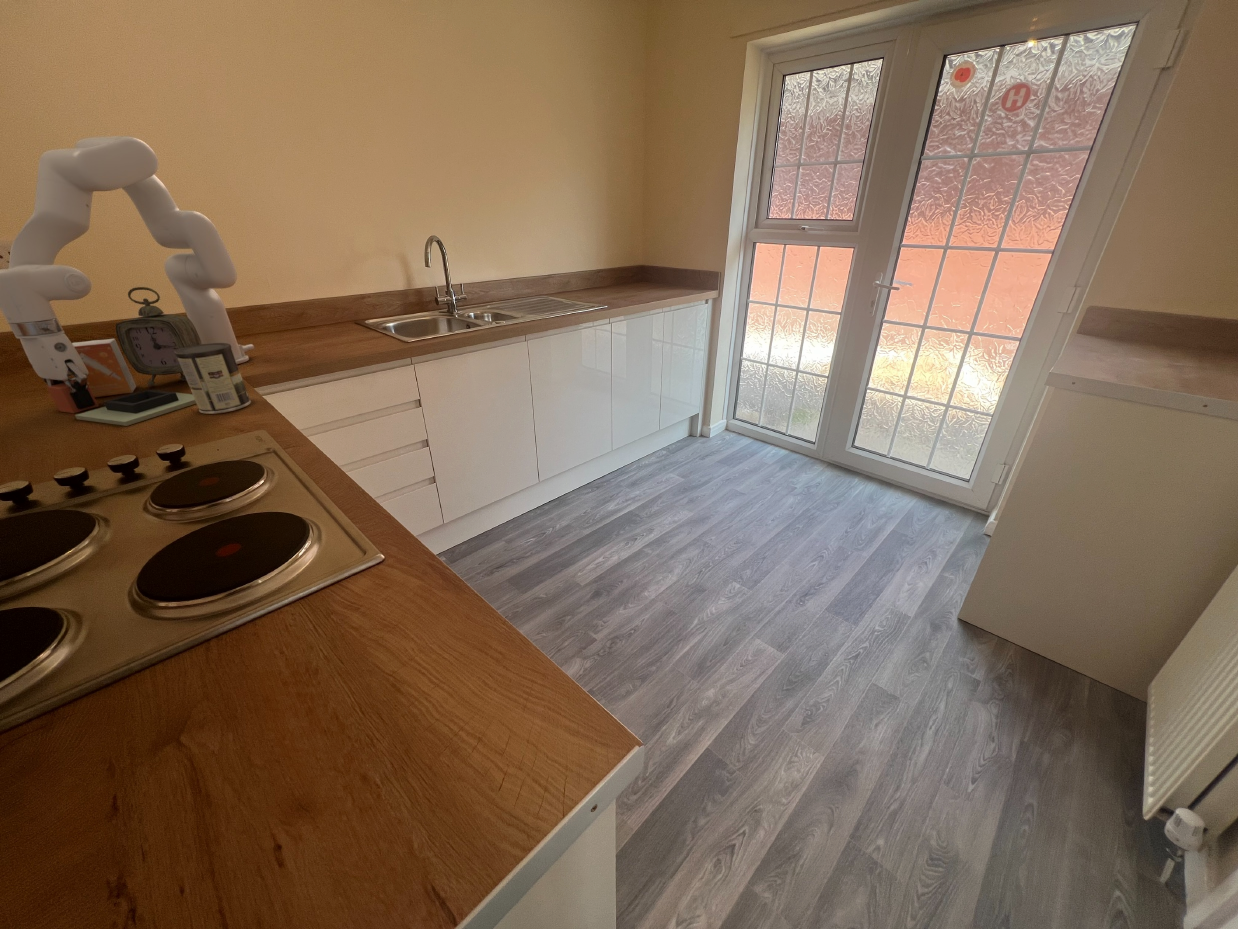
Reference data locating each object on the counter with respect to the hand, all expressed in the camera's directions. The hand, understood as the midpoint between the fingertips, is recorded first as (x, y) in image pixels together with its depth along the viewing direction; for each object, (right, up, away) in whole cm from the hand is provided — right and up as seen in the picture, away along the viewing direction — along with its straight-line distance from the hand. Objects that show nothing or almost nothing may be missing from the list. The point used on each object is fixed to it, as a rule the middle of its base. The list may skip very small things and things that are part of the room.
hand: (77, 405), depth 119 cm
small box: (-3, +4, +11) cm, 13 cm away
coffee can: (+35, 0, +1) cm, 35 cm away
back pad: (+16, -1, 0) cm, 17 cm away
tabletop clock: (+8, +8, +19) cm, 22 cm away
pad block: (0, -1, 0) cm, 1 cm away
